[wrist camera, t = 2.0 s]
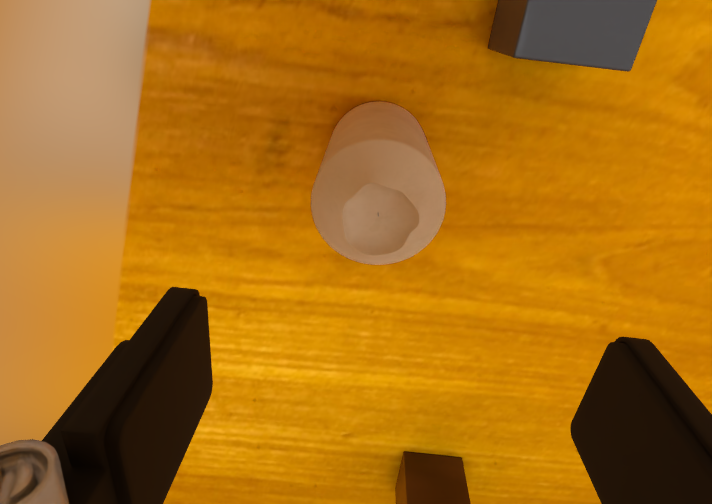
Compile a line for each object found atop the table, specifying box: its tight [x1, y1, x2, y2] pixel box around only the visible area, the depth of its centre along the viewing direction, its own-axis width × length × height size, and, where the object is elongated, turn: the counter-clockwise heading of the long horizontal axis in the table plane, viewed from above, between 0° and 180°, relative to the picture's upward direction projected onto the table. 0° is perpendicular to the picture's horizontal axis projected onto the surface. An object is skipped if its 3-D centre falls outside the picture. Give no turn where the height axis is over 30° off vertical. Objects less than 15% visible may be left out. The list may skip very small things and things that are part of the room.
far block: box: [395, 452, 470, 504], centre depth 37 cm, size 5×5×5 cm
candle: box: [311, 101, 446, 265], centre depth 21 cm, size 6×6×10 cm
